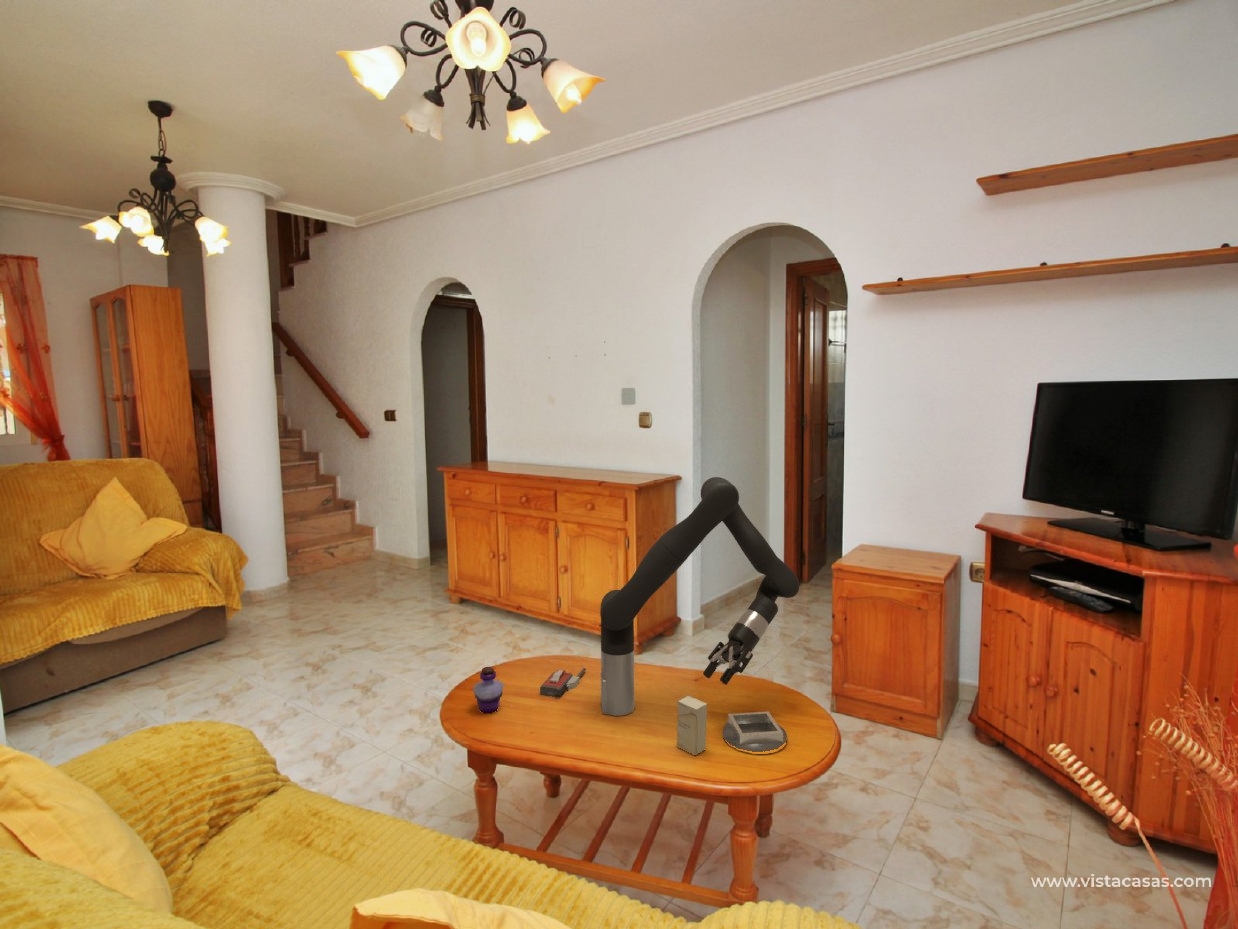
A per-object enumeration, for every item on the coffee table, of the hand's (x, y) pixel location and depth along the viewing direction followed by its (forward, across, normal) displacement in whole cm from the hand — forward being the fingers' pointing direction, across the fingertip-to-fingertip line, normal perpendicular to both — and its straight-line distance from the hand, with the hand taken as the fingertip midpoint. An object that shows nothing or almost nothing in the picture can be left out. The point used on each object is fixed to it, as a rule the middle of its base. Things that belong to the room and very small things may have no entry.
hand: (714, 679), depth 173 cm
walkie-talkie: (+24, -43, -15) cm, 52 cm away
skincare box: (+18, +4, +4) cm, 18 cm away
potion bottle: (+43, -37, -30) cm, 64 cm away
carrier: (+5, +6, +16) cm, 17 cm away
